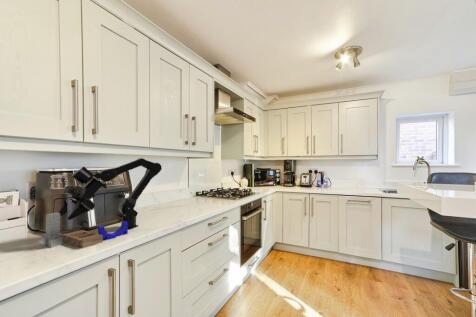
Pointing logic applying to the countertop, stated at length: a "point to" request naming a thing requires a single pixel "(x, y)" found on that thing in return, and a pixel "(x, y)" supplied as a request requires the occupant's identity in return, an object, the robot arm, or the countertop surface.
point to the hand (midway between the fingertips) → (62, 218)
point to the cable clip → (119, 232)
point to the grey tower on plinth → (53, 230)
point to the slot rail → (82, 238)
